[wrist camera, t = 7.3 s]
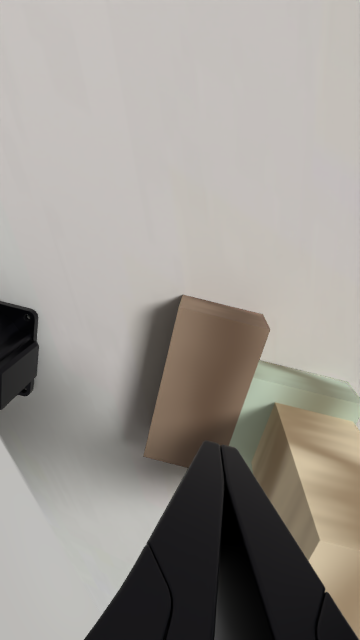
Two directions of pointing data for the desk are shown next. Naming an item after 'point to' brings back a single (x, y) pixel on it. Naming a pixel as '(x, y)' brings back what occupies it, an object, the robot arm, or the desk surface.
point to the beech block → (317, 495)
